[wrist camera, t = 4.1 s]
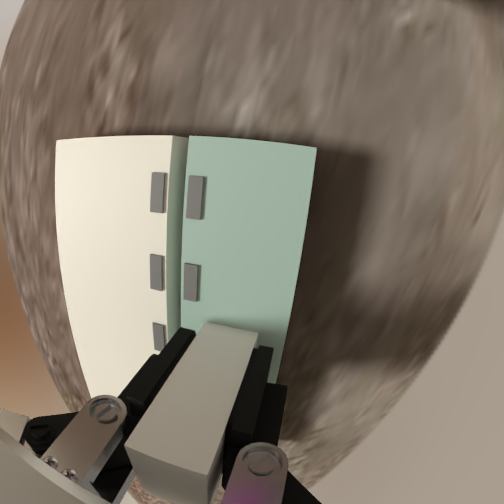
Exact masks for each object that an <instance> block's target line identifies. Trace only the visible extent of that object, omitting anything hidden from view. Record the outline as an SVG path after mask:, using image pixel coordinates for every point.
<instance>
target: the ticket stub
mask: <svg viewBox="0 0 504 504" xmlns="http://www.w3.org/2000/svg"><path fill="white" fill-rule="evenodd" d="M316 151H317V148H315V147H308V146H301V145H294V144H286V143H278V142H269V141H260V140H249V139H238V138H224V137H208V136H189V143H188V154H187V166H186V178H185V192H184V209H183V228H182V256H181V327H183V328H187V329H191V330H195V332H196V337H195V338H194V340H193V341H192V343H191V344H190V346H189V347H188V349H187V350H186V352H185V353H184V355H183V356H182V358H181V359H180V361H179V362H178V364H177V365H176V367H175V368H174V370H173V371H172V373H171V374H170V376H169V377H168V379H167V380H166V382H165V384H164V385H163V387H162V388H161V390H160V391H159V393H158V394H157V396H156V397H155V399H154V400H153V402H152V403H151V405H150V406H149V408H148V409H147V411H146V412H145V414H144V415H143V417H142V418H141V420H140V421H139V423H138V424H137V426H136V427H135V429H134V430H133V432H132V433H131V435H130V436H129V438H128V439H127V441H126V442H125V444H124V447H125V449H126V452H127V454H128V457H129V459H130V461H131V464H132V466H133V468H134V471H135V473H136V475H137V477H138V479H139V481H140V484H141V486H142V488H143V490H144V492H146V493H148V494H151V495H153V496H156V497H158V498H161V499H164V500H166V501H169V502H172V503H175V504H212V501H213V499H214V496H215V493H216V490H217V487H218V485H219V482H220V479H221V476H222V462H223V450H224V439H225V430H226V426H227V422H228V419H229V416H230V413H231V411H232V408H233V405H234V402H235V399H236V397H237V394H238V391H239V388H240V385H241V382H242V380H243V377H244V374H245V371H246V368H247V365H248V362H249V359H250V356H251V353H252V350H253V348H257V349H258V347H259V345H262V346H268V347H273V348H274V350H273V356H272V361H271V366H270V371H269V376H268V381H267V382H268V383H273V384H276V380H277V376H278V371H279V367H280V362H281V358H282V353H283V348H284V343H285V339H286V334H287V329H288V324H289V319H290V314H291V309H292V303H293V298H294V293H295V287H296V282H297V276H298V271H299V265H300V259H301V253H302V247H303V241H304V235H305V229H306V222H307V216H308V209H309V203H310V196H311V189H312V181H313V174H314V166H315V159H316Z"/></svg>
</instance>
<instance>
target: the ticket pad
mask: <svg viewBox="0 0 504 504" xmlns="http://www.w3.org/2000/svg"><path fill="white" fill-rule="evenodd" d="M188 143H189V138H186V137H179V136H167V135H140V136H107V137H90V138H76V139H65V140H57V143H56V163H55V205H56V225H57V239H58V249H59V258H60V267H61V274H62V281H63V287H64V293H65V299H66V304H67V310H68V315H69V319H70V324H71V328H72V333H73V337H74V341H75V345H76V349H77V353H78V356H79V360H80V363H81V367H82V370H83V374H84V377H85V380H86V383H87V386H88V389H89V392H90V395H91V398H94V397H96V396H99V395H112V396H115V397H118V396H119V395H120V393H121V392H122V391H123V390H124V388H125V387H126V386H127V385H128V383H129V382H130V381H131V380H132V378H133V377H134V376H135V375H136V373H137V372H138V371H139V370H140V368H141V367H142V366H143V365H144V363H145V362H146V361H147V360H148V358H149V357H150V356H151V355H152V354H157V355H159V353H160V352H161V351H162V350H163V348H164V347H165V346H166V344H167V343H168V342H169V341H170V339H171V338H172V337H173V335H174V334H175V333H176V332H177V330H178V329H179V328H180V327H181V256H182V228H183V209H184V192H185V178H186V166H187V154H188Z"/></svg>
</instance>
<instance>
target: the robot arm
mask: <svg viewBox="0 0 504 504" xmlns="http://www.w3.org/2000/svg"><path fill="white" fill-rule="evenodd" d="M195 337H196V332H195V330H191V329H187V328H183V327H180V328H179V329H178V330H177V332H176V333H175V334H174V335H173V337H172V338H171V339H170V341H169V342H168V343H167V344H166V346H165V347H164V348H163V350H162V351H161V352H160V353H159V355H157V354H152V355H151V356H150V357H149V358H148V360H147V361H146V362H145V363H144V365H143V366H142V367H141V368H140V370H139V371H138V372H137V373H136V375H135V376H134V377H133V378H132V380H131V381H130V382H129V383H128V385H127V386H126V387H125V388H124V390H123V391H122V392H121V393H120V395H119V396H118V397H115V396H112V395H99V396H96V397H94V398H92V399H90V400H89V401H88V402H87V403H86V404H85V405H84V407H83V408H82V409H81V410H80V411H79V412H74V413H67V414H59V415H51V416H42V417H36V418H33V419H30V418H29V417H28V416H25V415H21V414H17V413H14V412H11V411H8V410H5V409H1V408H0V504H120V502H121V500H122V499H123V497H124V495H125V493H126V491H127V490H128V488H129V486H130V484H131V483H132V481H133V479H134V477H135V476H136V473H135V471H134V468H133V466H132V464H131V461H130V459H129V457H128V454H127V452H126V449H125V447H124V444H125V442H126V441H127V439H128V438H129V436H130V435H131V433H132V432H133V430H134V429H135V427H136V426H137V424H138V423H139V421H140V420H141V418H142V417H143V415H144V414H145V412H146V411H147V409H148V408H149V406H150V405H151V403H152V402H153V400H154V399H155V397H156V396H157V394H158V393H159V391H160V390H161V388H162V387H163V385H164V384H165V382H166V380H167V379H168V377H169V376H170V374H171V373H172V371H173V370H174V368H175V367H176V365H177V364H178V362H179V361H180V359H181V358H182V356H183V355H184V353H185V352H186V350H187V349H188V347H189V346H190V344H191V343H192V341H193V340H194V338H195ZM273 350H274V348H273V347H268V346H262V345H259V347H258V349H257V348H253V350H252V353H251V356H250V359H249V362H248V365H247V368H246V371H245V374H244V377H243V380H242V382H241V385H240V388H239V391H238V394H237V397H236V399H235V402H234V405H233V408H232V411H231V413H230V416H229V419H228V422H227V426H226V430H225V439H224V450H223V462H222V473H223V476H222V487H223V488H224V490H225V493H224V496H223V499H222V502H221V504H321V503H320V502H319V501H318V500H317V499H316V498H315V497H314V496H313V495H312V494H311V493H310V492H309V491H308V490H307V489H306V488H305V487H304V486H303V485H302V484H301V483H300V482H299V481H298V480H297V479H296V478H295V477H294V476H293V475H292V474H291V473H290V472H289V471H288V458H287V456H286V454H285V453H284V452H283V451H282V450H281V449H280V448H279V447H277V445H278V439H279V434H280V428H281V423H282V417H283V411H284V405H285V399H286V393H287V386H285V385H279V384H273V383H268V382H267V381H268V376H269V371H270V366H271V361H272V356H273Z"/></svg>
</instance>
